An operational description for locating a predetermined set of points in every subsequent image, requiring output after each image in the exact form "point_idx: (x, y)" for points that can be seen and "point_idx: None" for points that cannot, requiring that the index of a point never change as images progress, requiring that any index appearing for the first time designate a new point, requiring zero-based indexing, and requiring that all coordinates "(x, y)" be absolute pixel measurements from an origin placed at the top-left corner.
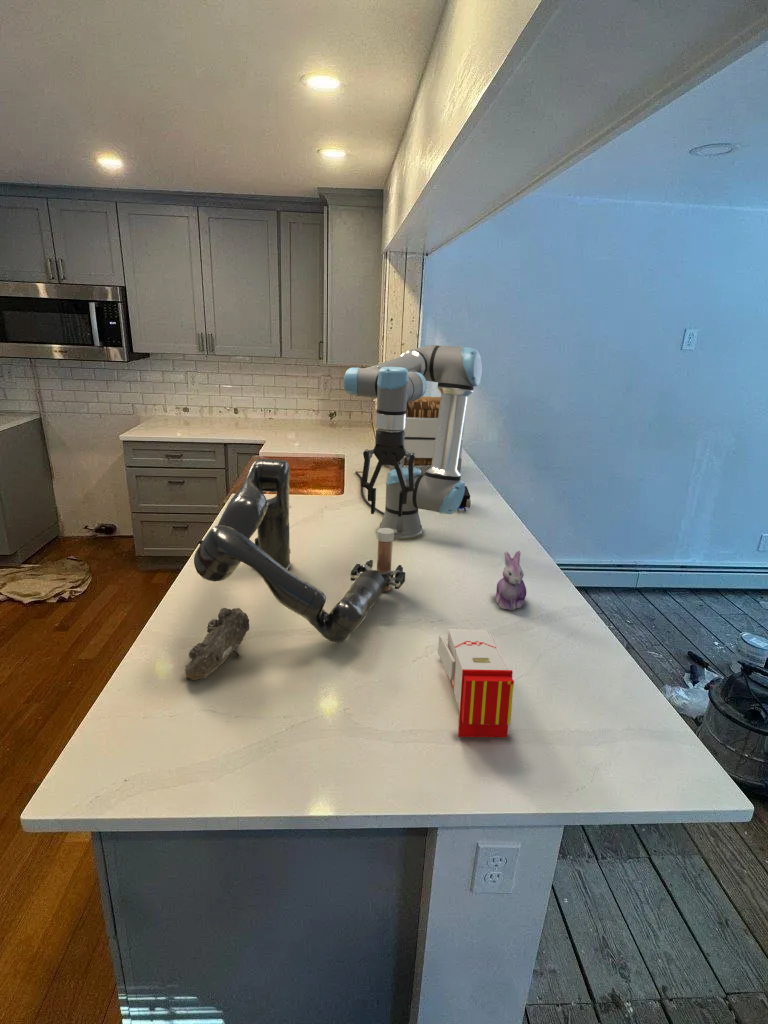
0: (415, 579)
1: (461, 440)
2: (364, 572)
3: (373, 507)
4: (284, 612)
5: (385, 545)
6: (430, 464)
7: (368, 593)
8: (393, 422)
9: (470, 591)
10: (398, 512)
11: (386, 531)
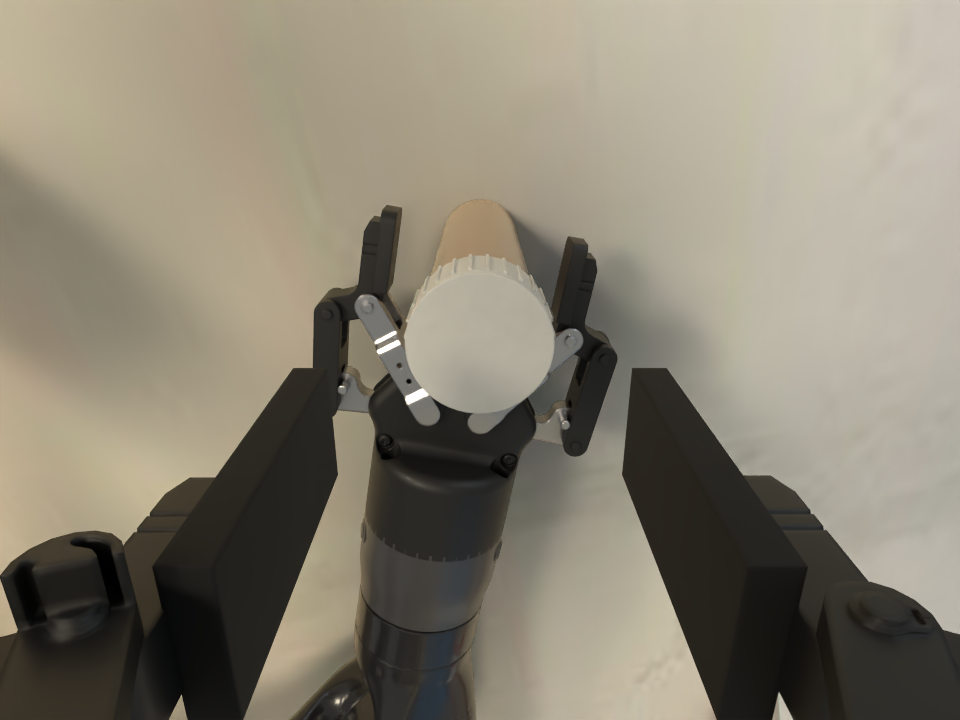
0: (646, 82)
1: None
2: (401, 499)
3: (313, 523)
4: (135, 518)
5: None
6: None
7: (461, 640)
8: None
9: (940, 163)
10: (633, 503)
11: (488, 361)
